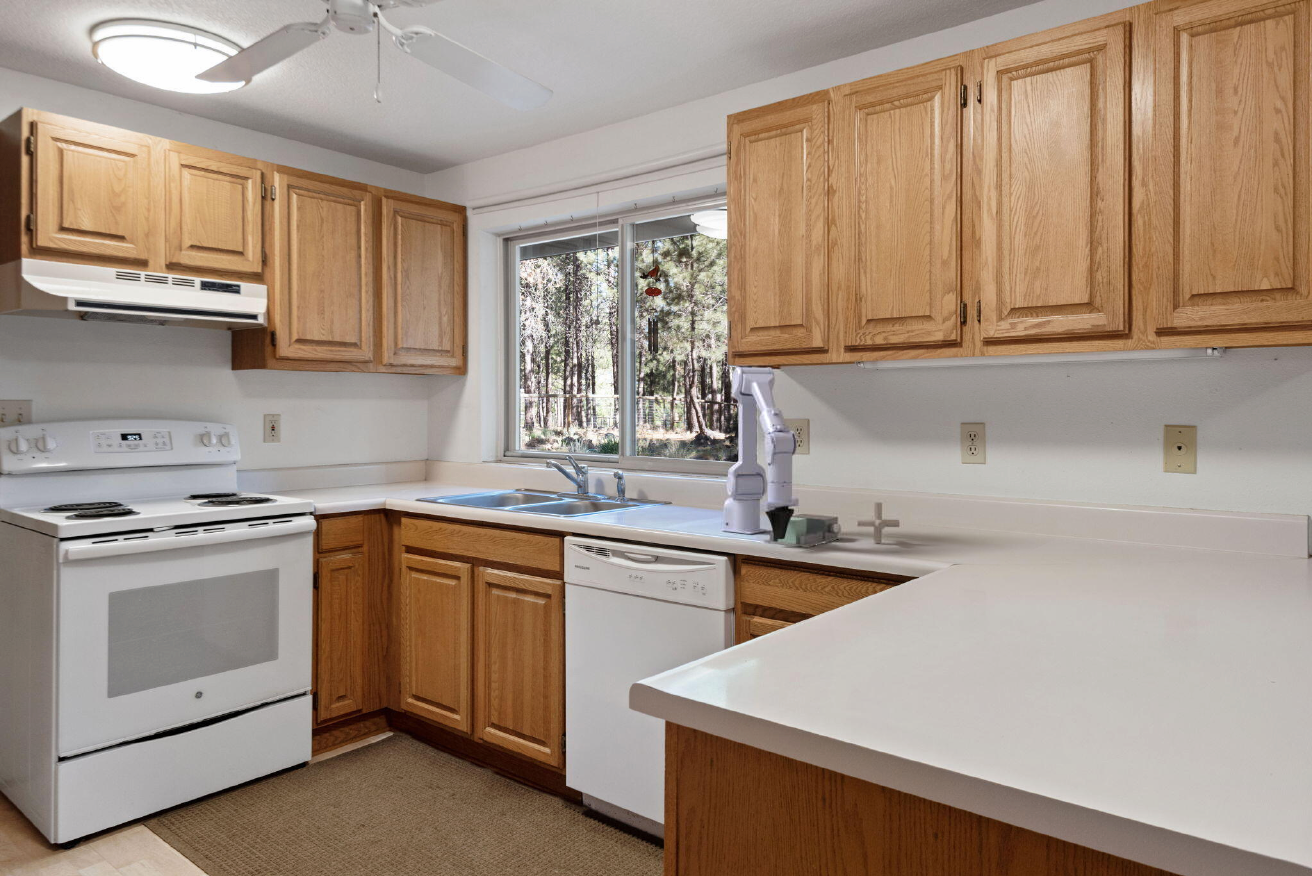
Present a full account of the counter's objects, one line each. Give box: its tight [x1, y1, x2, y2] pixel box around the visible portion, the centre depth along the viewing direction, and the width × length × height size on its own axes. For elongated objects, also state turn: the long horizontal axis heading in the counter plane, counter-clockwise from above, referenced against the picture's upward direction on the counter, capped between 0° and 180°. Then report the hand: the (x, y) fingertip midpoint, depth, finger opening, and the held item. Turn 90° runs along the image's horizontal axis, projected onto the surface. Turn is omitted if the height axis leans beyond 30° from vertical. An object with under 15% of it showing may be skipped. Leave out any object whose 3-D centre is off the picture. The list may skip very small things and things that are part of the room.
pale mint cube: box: [778, 517, 806, 543], centre depth 203 cm, size 5×5×6 cm
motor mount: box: [763, 513, 843, 548], centre depth 207 cm, size 13×18×6 cm
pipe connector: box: [856, 501, 901, 544], centre depth 203 cm, size 10×10×10 cm
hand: (779, 538), depth 198 cm, fingers closed
